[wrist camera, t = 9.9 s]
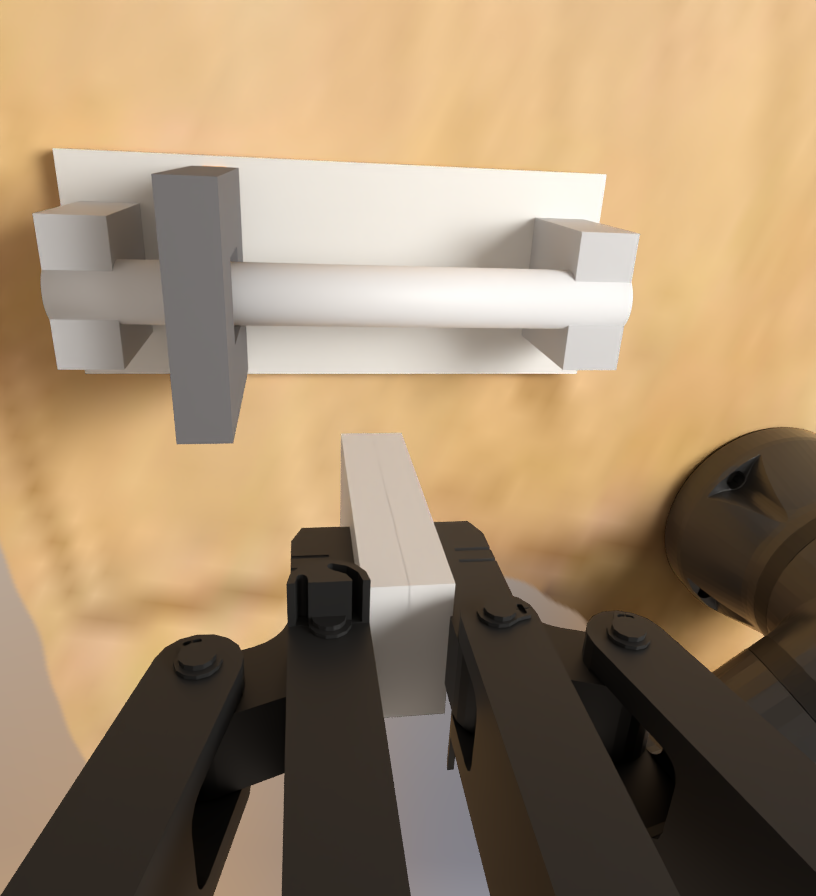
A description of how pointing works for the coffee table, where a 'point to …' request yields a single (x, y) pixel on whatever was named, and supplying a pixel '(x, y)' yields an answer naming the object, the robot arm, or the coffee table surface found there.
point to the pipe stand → (348, 267)
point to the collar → (201, 298)
